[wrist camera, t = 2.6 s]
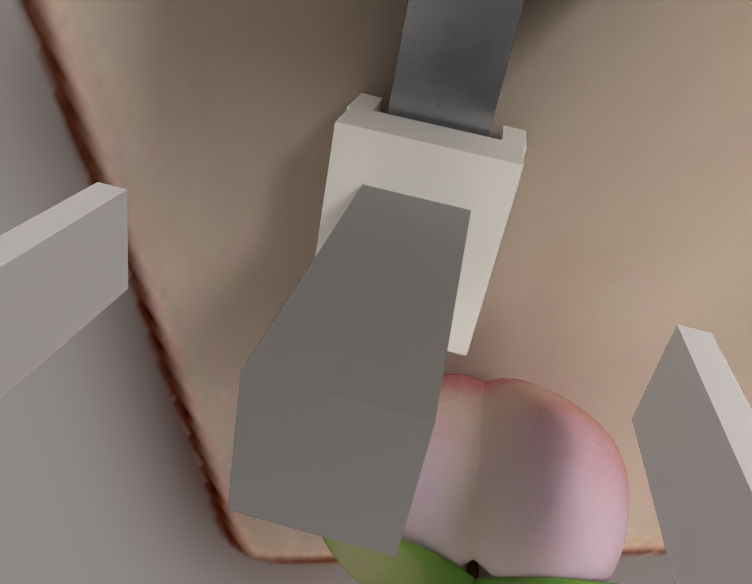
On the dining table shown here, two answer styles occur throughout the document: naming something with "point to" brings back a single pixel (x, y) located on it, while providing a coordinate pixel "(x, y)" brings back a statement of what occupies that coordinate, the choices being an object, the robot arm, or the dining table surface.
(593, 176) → the dining table surface
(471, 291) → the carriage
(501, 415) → the decorative fruit
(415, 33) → the rail
